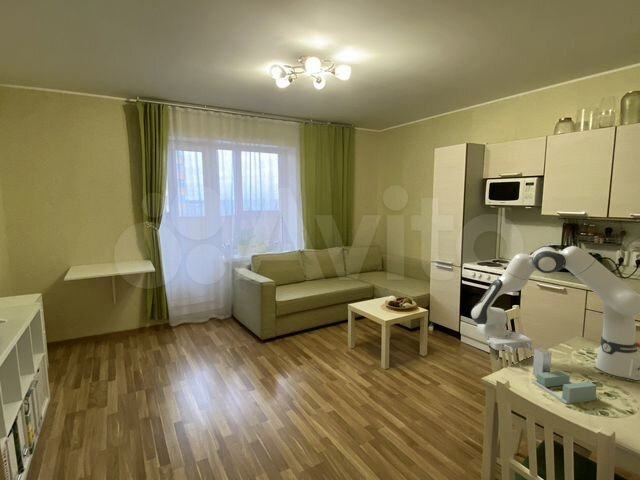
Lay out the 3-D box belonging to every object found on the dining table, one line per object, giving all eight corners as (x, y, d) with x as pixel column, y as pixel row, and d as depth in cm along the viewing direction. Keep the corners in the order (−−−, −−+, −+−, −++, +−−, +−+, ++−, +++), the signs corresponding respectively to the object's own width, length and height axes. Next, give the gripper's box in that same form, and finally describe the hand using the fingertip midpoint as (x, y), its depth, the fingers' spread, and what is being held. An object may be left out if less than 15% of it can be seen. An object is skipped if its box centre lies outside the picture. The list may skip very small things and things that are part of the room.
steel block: (540, 373, 153) (542, 347, 152) (549, 379, 148) (551, 352, 147) (532, 374, 152) (534, 348, 151) (541, 380, 147) (543, 353, 146)
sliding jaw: (560, 379, 147) (561, 370, 147) (569, 384, 143) (569, 375, 143) (536, 382, 145) (537, 373, 145) (544, 387, 141) (544, 378, 141)
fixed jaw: (563, 379, 148) (563, 365, 147) (599, 399, 132) (600, 384, 132) (532, 382, 145) (533, 369, 145) (565, 404, 130) (566, 389, 129)
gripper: (483, 333, 172) (503, 344, 159) (519, 330, 176) (541, 341, 162) (483, 345, 173) (502, 357, 159) (519, 342, 176) (540, 354, 163)
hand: (522, 349), depth 161 cm, fingers open, 8 cm apart
